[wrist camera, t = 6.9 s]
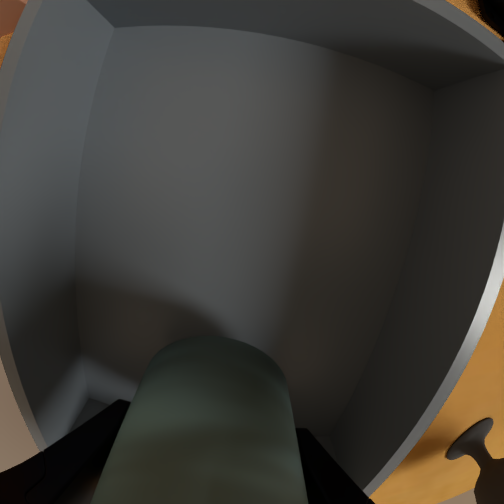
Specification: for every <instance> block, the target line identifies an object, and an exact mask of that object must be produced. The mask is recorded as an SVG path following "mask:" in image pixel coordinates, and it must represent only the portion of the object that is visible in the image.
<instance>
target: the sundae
mask: <svg viewBox="0 0 504 504" xmlns="http://www.w3.org/2000/svg"><path fill="white" fill-rule="evenodd" d="M492 426H493V419H491V418H487V419H484V420H482V421H480V422H478V423H477V424H475V425H474V426H472V427H471V428H470V429H468V430H467V431H466V432H465V433H464V434H463V435H461V436H460V437H459V438H458V439H457V440H456V442H455V443H454V444H453V445H452V446H451V448H450V449H449V451H448V453H447V459H449V460H454V459H457V458H459V457H461V456H463V455H470V456H471V457H473V458H474V459H475V461H476V462H477V463H478V465H479V467H480V468H481V470H480V475H479V477H478V479H477V482H476V485H475V489H474V494H475V498H476V502H477V504H504V458H501V459H493V458H492V457H491V455H490V454H489V453H488V451H487V449H486V447H485V444H484V439H485V437H486V435H487V434H488V433H489V431H490V430H491V428H492Z"/></svg>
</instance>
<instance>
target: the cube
mask: <svg viewBox="0 0 504 504" xmlns="http://www.w3.org/2000/svg"><path fill="white" fill-rule="evenodd" d="M27 2H28V0H0V37H2V36H4V35H7V34H9V33H12V32H14V30H15V28H16V26H17V23H18V21H19V19H20V16H21V14H22V12H23V10H24V8H25V6H26V4H27Z"/></svg>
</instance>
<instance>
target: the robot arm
mask: <svg viewBox="0 0 504 504" xmlns="http://www.w3.org/2000/svg"><path fill="white" fill-rule="evenodd" d="M478 1H479V6H480V11H481V14H482V16H483V18H484V19H485V21H486V22H487V23H488V24H490V25H491V26H492V27H494V28H495V29H496V30H497V31H498V32H500V33H501V34H502V35H503V36H504V0H478ZM130 404H131V402H129V401H126V400H123V399H118V400H116V401H115V402H113V403H112V404H110V405H109V406H108V407H106V408H105V409H103V410H102V411H100V412H99V413H98V414H96V415H95V416H93V417H92V418H90V419H89V420H87V421H86V422H84V423H83V424H82V425H80V426H79V427H77V428H76V429H74V430H73V431H71V432H70V433H68V434H67V435H65V436H64V437H62V438H61V439H59V440H58V441H56V442H55V443H53V444H52V445H50V446H49V447H47V448H46V449H44V450H43V451H41V452H39V453H38V454H36V455H35V456H33V457H31V458H29V459H28V460H26V461H24V462H23V463H21V464H19V465H16V466H14V467H12V468H10V469H8V470H6V471H3V472H1V473H0V504H90V503H91V500H92V497H93V495H94V492H95V489H96V487H97V484H98V482H99V479H100V476H101V474H102V471H103V469H104V466H105V464H106V461H107V459H108V456H109V454H110V451H111V449H112V446H113V444H114V442H115V439H116V437H117V434H118V432H119V430H120V427H121V425H122V423H123V420H124V418H125V416H126V413H127V411H128V409H129V406H130ZM295 430H296V435H297V441H298V447H299V452H300V458H301V463H302V469H303V475H304V481H305V486H306V492H307V498H308V504H375V503H374V502H373V501H372V500H371V499H369V497H368V496H367V495H366V494H365V493H364V492H363V491H362V489H361V488H360V487H359V486H358V485H357V484H356V483H355V482H354V481H353V480H352V479H351V478H350V477H349V475H348V474H347V473H346V472H345V471H344V470H343V469H342V468H341V467H340V465H339V464H338V463H337V462H336V461H335V460H334V459H333V458H332V456H331V455H330V454H329V453H328V452H327V451H326V450H325V448H324V447H323V446H322V445H321V444H320V443H319V441H318V440H317V439H316V438H315V437H314V436H313V434H312V433H311V432H310V431H309V430H308V429H307V428H299V427H296V428H295Z"/></svg>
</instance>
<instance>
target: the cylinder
mask: <svg viewBox="0 0 504 504" xmlns="http://www.w3.org/2000/svg"><path fill="white" fill-rule="evenodd" d="M90 504H308V498H307V492H306V486H305V481H304V475H303V469H302V463H301V458H300V452H299V447H298V441H297V435H296V430H295V424H294V419H293V413H292V408H291V402H290V397H289V391H288V386H287V382H286V379H285V376H284V374H283V372H282V370H281V369H280V367H279V366H278V365H277V363H276V362H275V361H274V360H273V359H272V358H271V357H269V356H268V355H267V354H265V353H264V352H263V351H261V350H259V349H258V348H256V347H254V346H252V345H249V344H247V343H245V342H242V341H239V340H236V339H231V338H226V337H219V336H196V337H189V338H185V339H181V340H178V341H175V342H173V343H171V344H169V345H167V346H165V347H164V348H162V349H161V350H159V351H158V352H157V353H156V354H155V355H154V356H153V358H152V359H151V361H150V362H149V364H148V366H147V369H146V371H145V373H144V375H143V377H142V379H141V382H140V384H139V386H138V388H137V391H136V393H135V395H134V397H133V400H132V402H131V404H130V406H129V409H128V411H127V413H126V416H125V418H124V420H123V423H122V425H121V427H120V430H119V432H118V434H117V437H116V439H115V442H114V444H113V446H112V449H111V451H110V454H109V456H108V459H107V461H106V464H105V466H104V469H103V471H102V474H101V476H100V479H99V482H98V484H97V487H96V489H95V492H94V495H93V497H92V500H91V503H90Z"/></svg>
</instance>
